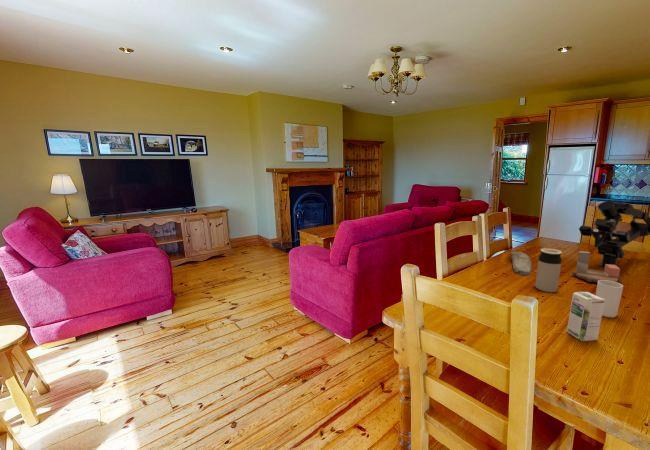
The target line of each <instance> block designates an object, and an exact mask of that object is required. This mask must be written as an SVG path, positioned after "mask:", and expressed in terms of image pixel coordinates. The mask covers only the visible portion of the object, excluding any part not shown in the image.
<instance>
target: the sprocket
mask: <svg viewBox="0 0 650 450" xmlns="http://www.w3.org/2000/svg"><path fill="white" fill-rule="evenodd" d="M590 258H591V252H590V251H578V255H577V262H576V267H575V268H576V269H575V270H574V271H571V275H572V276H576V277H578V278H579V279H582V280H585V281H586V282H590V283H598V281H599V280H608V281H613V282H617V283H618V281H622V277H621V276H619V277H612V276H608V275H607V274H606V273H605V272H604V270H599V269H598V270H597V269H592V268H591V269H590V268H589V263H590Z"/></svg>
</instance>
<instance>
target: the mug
mask: <svg viewBox="0 0 650 450" xmlns="http://www.w3.org/2000/svg"><path fill="white" fill-rule="evenodd" d="M596 283H597V282H596ZM623 289H624V285H623V284H621V283H620V282H618V281H617V282H613V281H608V280H599V281H598V283H597V285H596V289H595V290H596V292H595V296H598V297H600V298H602V299H605V303H604V308H603V313H602V317H605V318H615V317H617V315H618V311H619V308H620V307H619V306H620V303H621V298H622V294H623Z"/></svg>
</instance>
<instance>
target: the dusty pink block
mask: <svg viewBox="0 0 650 450" xmlns="http://www.w3.org/2000/svg"><path fill="white" fill-rule="evenodd" d="M617 266H618V265H610V264H605V267H604V270H603V271H604V272H605V273H606V274H607V275H608V276H612V277H620V273H621V268H620V267H619V268H618V267H617Z"/></svg>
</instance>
